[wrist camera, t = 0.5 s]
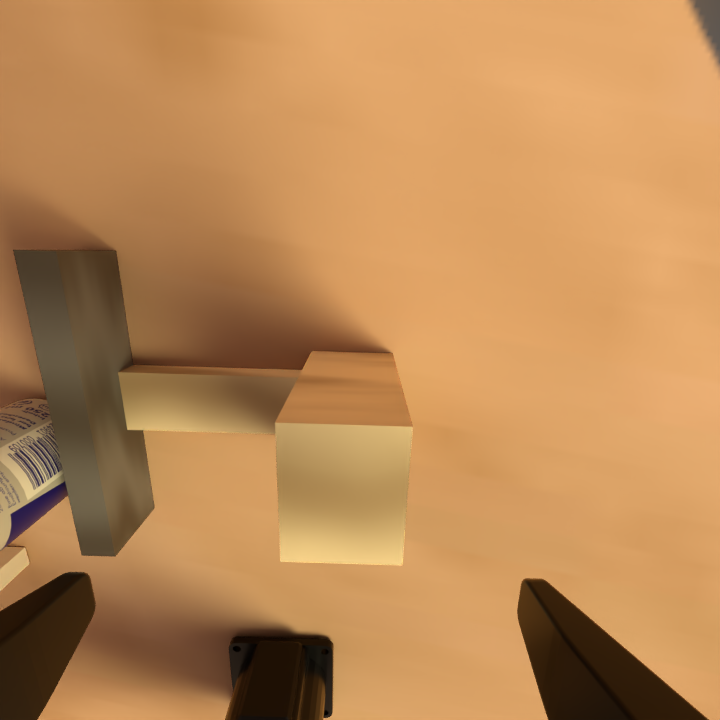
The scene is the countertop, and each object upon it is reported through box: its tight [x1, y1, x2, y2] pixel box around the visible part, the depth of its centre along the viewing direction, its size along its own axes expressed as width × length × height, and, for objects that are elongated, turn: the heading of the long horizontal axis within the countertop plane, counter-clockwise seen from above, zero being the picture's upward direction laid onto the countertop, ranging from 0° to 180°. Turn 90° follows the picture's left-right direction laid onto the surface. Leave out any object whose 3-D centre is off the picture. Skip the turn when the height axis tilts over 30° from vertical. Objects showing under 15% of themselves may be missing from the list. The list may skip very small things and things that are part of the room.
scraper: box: [13, 250, 413, 565], centre depth 15 cm, size 14×15×8 cm
